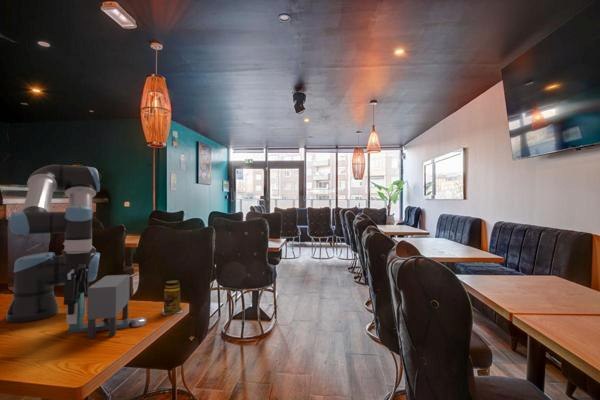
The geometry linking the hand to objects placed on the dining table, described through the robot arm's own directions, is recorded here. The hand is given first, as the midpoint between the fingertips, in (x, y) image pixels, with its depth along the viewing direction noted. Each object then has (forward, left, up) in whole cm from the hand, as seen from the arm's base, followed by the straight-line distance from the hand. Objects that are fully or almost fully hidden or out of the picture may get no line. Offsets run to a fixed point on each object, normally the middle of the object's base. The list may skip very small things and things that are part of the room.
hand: (76, 319), depth 104 cm
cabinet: (0, +10, -3) cm, 11 cm away
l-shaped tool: (0, +7, -4) cm, 8 cm away
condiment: (-12, +29, -4) cm, 32 cm away
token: (0, +19, -4) cm, 19 cm away
